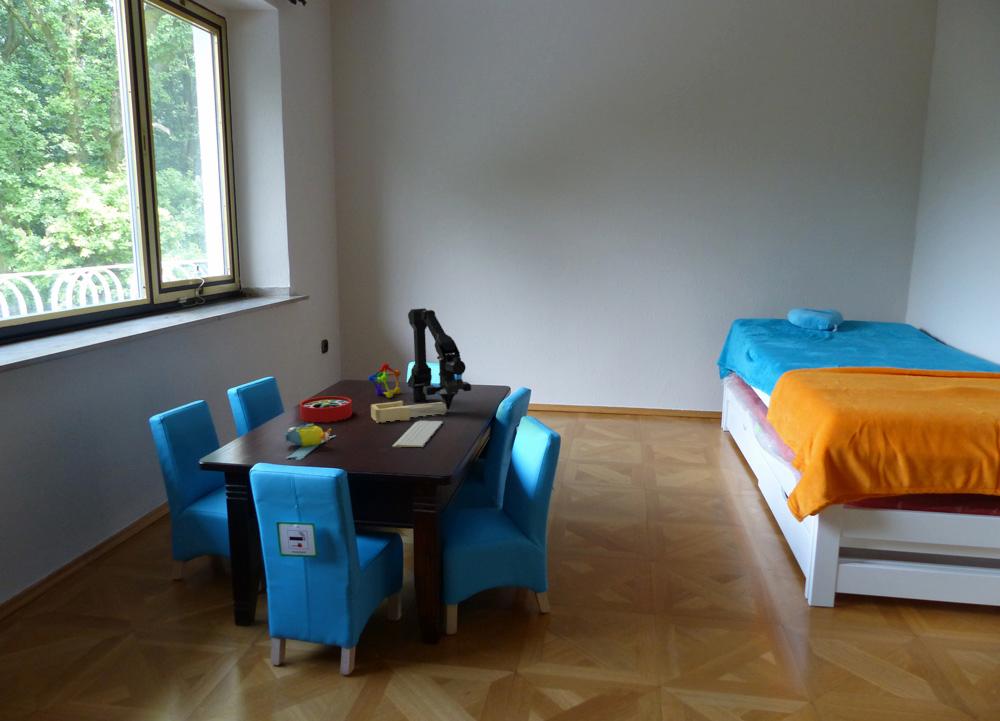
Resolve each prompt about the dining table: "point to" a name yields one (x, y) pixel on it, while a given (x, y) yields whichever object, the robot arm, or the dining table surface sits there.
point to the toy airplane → (306, 439)
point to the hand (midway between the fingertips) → (448, 409)
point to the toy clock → (326, 409)
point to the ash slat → (426, 409)
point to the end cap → (389, 412)
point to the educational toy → (383, 378)
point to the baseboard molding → (418, 434)
